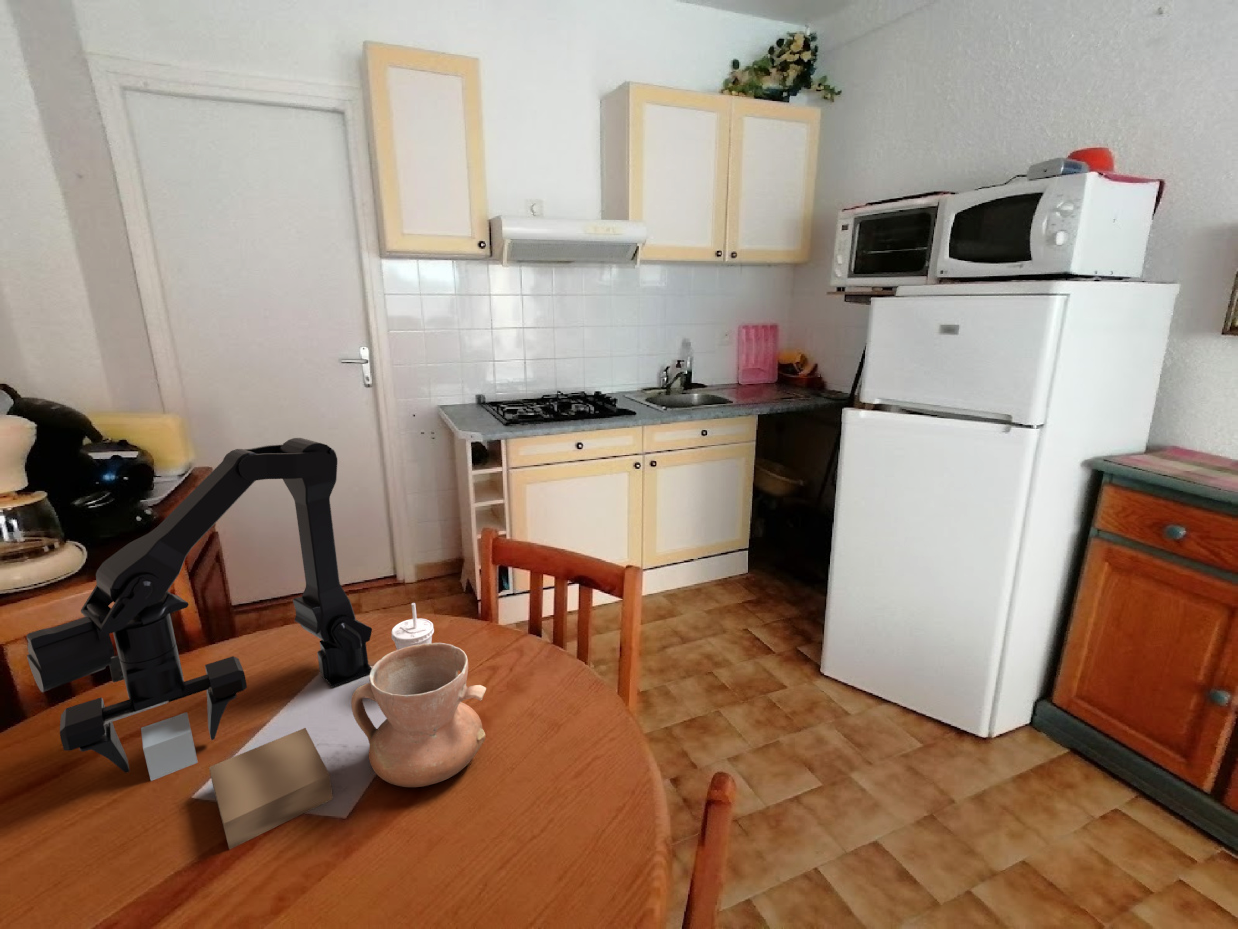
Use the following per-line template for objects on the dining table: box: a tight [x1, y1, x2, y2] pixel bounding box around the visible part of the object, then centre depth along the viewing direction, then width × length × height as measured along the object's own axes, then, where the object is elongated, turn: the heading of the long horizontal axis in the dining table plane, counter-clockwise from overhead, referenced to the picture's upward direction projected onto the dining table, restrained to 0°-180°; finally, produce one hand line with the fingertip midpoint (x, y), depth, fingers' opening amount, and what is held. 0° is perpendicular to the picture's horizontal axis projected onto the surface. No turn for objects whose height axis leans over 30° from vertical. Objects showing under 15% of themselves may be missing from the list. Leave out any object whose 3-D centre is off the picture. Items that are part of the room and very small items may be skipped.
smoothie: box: [391, 602, 435, 650], centre depth 95 cm, size 6×6×14 cm
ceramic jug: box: [350, 642, 487, 788], centre depth 79 cm, size 18×14×14 cm
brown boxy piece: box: [208, 727, 334, 850], centre depth 74 cm, size 11×11×4 cm
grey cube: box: [140, 712, 199, 782], centre depth 79 cm, size 5×5×5 cm
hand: (171, 753), depth 80 cm, fingers open, 9 cm apart
